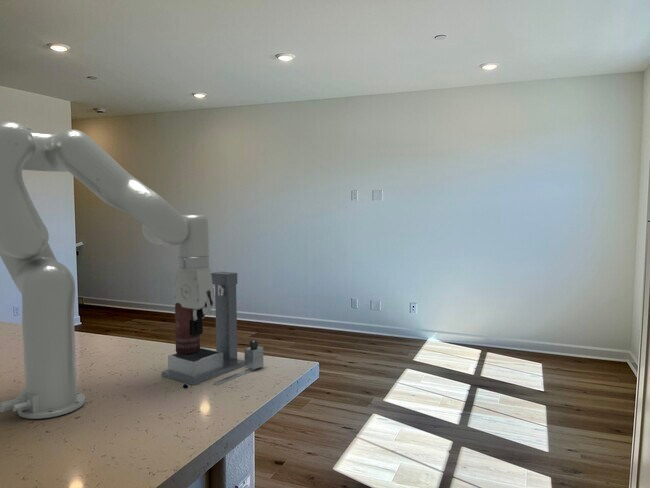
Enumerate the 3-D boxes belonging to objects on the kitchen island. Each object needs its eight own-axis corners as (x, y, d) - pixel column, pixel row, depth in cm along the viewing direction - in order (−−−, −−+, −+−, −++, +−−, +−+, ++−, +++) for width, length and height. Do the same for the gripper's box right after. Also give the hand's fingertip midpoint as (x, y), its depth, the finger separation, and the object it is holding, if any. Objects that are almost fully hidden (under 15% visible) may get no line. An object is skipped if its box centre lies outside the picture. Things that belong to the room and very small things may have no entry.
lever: (253, 369, 124) (252, 342, 123) (244, 367, 125) (244, 340, 125) (263, 365, 127) (263, 338, 127) (255, 363, 129) (254, 337, 128)
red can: (185, 357, 120) (184, 302, 119) (171, 352, 124) (170, 299, 123) (205, 351, 124) (204, 298, 123) (190, 347, 128) (190, 295, 127)
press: (207, 389, 112) (205, 283, 110) (161, 376, 121) (159, 278, 119) (260, 367, 128) (259, 274, 126) (216, 357, 137) (215, 270, 135)
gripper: (162, 263, 122) (164, 333, 123) (203, 266, 114) (205, 341, 115) (185, 260, 128) (187, 327, 129) (225, 263, 120) (227, 335, 121)
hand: (195, 334), depth 122 cm, fingers closed
